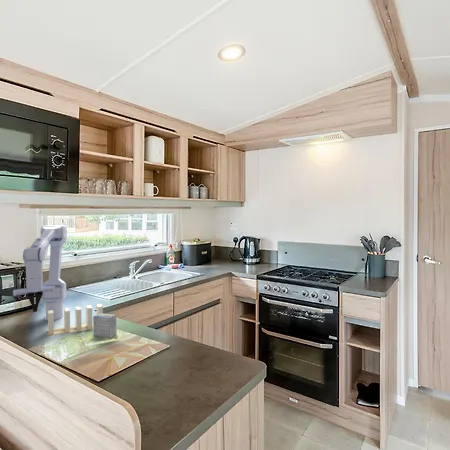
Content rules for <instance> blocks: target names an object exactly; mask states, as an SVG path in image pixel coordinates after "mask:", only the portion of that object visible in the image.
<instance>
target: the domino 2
mask: <svg viewBox="0 0 450 450" xmlns="http://www.w3.org/2000/svg"><path fill="white" fill-rule="evenodd" d="M63 316H64V317H63V327H64V329H65V332H68V331H70V326H71V309H70V308H69V307H65V308H64V307H63Z"/></svg>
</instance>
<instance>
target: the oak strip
mask: <svg viewBox="0 0 450 450" xmlns="http://www.w3.org/2000/svg"><path fill="white" fill-rule="evenodd" d="M81 326H82V329H81V330H77V329H76V327H75V325H70V331H68V332H65V329H64V326H63V327H58V328H57V327H56V328H54V334H50V335H49V333H48V329H46V335H47V337H51V336H57V335H62V334H63V335H64V334H70V333H75V332H82V331H87V330H92V329H93V322H92V328H88V327H87V326H86V323H84V324H83V323H81ZM93 330H94V329H93Z"/></svg>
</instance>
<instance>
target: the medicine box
mask: <svg viewBox="0 0 450 450" xmlns="http://www.w3.org/2000/svg"><path fill="white" fill-rule="evenodd" d="M92 323H93V336H94V337H101V338H103V337H104V338H112V337H114V336H115V335H117V333H118V332H117V330H118V329H117V327H118V326H117V314H112V313H111V314H110V313H103V314H102V313H100V314H97V315H96V314H95V315H92Z"/></svg>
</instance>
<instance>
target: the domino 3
mask: <svg viewBox="0 0 450 450" xmlns="http://www.w3.org/2000/svg"><path fill="white" fill-rule="evenodd" d="M74 313H75V314H74V316H75V317H74V318H75V321H74V323H75V325H74V326H75V327H76V329H77V330H81V329H82V326H81V325H82V308H81V307H80V306H75V307H74Z"/></svg>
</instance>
